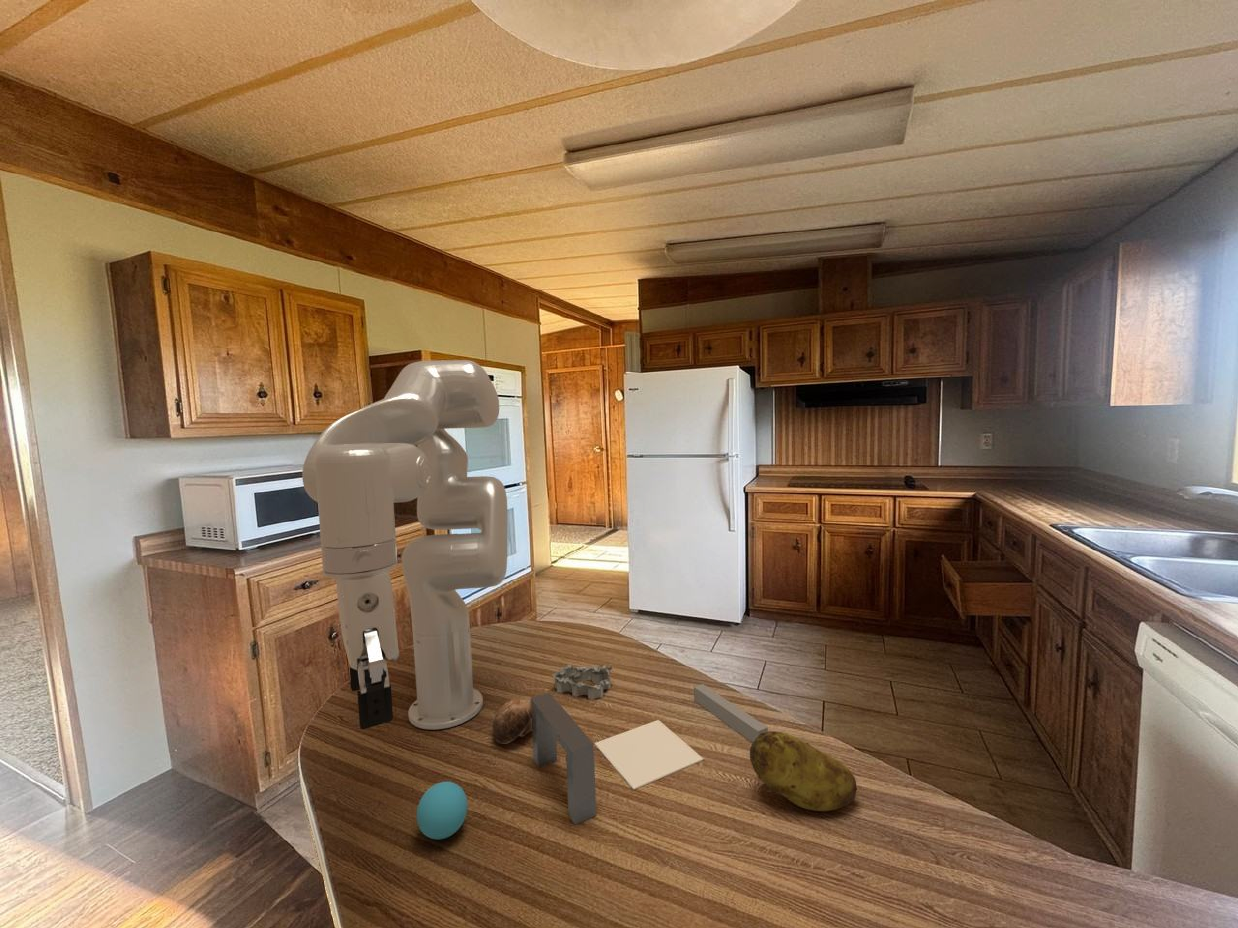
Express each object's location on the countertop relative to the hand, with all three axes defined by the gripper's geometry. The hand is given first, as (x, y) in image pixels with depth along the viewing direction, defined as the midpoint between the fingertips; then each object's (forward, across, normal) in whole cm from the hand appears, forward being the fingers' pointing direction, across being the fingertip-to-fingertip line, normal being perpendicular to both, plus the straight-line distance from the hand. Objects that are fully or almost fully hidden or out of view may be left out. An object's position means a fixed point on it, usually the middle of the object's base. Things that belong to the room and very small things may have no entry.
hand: (370, 704), depth 60 cm
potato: (+19, -21, -48) cm, 56 cm away
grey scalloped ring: (+19, +22, -38) cm, 48 cm away
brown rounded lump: (+19, +15, -22) cm, 33 cm away
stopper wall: (+19, -2, -53) cm, 56 cm away
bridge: (+19, 0, -23) cm, 30 cm away
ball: (+16, 0, -7) cm, 18 cm away
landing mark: (+19, -1, -37) cm, 42 cm away
